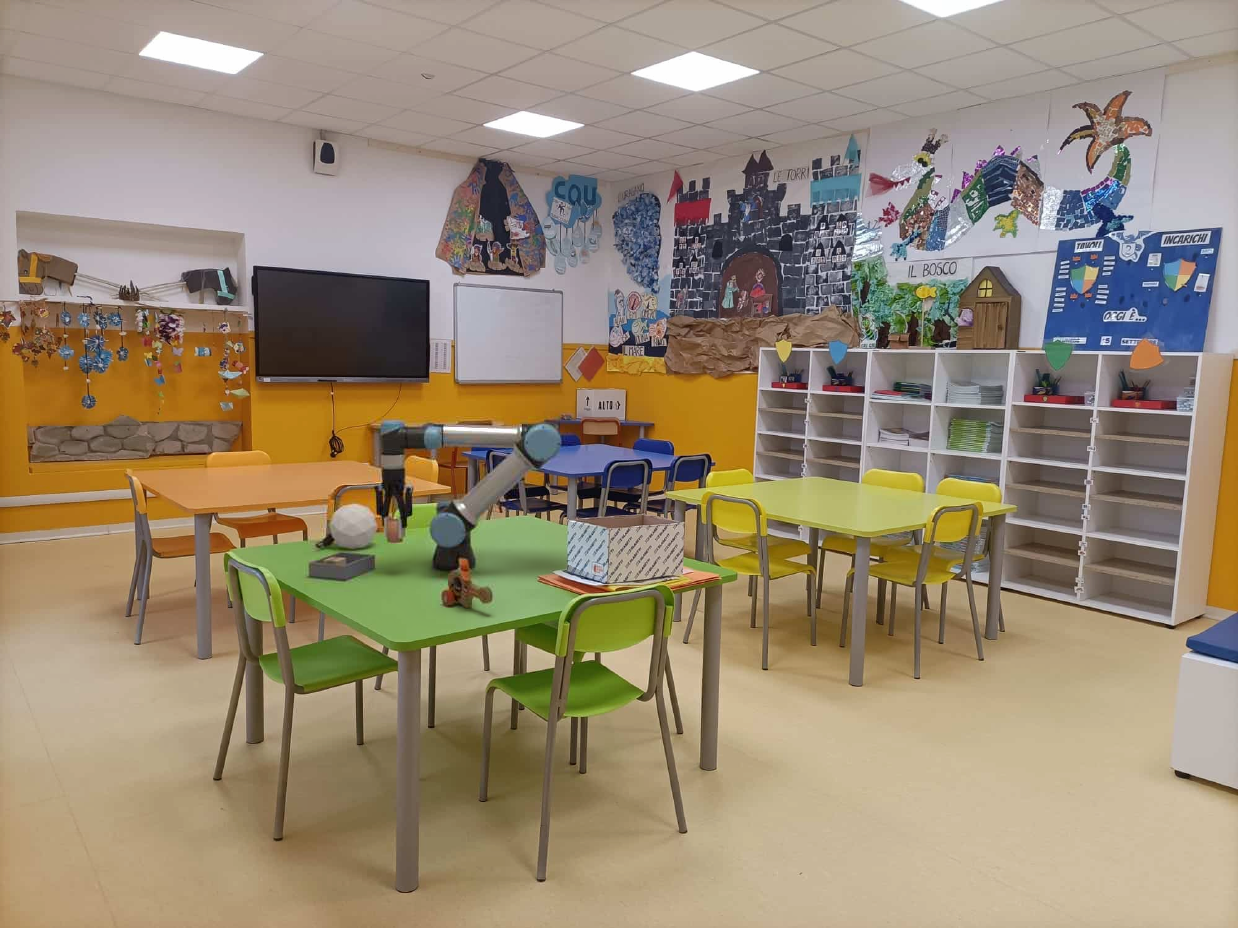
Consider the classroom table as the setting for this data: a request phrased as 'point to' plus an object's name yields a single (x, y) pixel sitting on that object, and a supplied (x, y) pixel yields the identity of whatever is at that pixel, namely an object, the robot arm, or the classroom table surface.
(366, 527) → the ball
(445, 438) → the robot arm
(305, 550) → the classroom table surface
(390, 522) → the red cylinder
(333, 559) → the wooden cube
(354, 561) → the tote
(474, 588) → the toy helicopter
